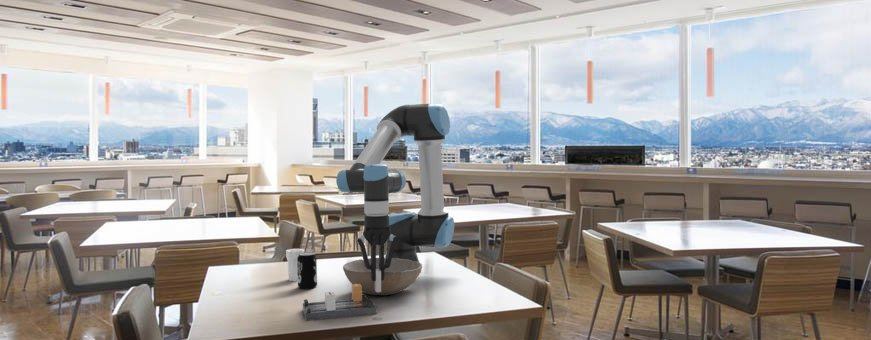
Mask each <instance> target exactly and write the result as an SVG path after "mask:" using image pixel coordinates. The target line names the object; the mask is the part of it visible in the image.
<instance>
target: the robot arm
mask: <svg viewBox="0 0 871 340" xmlns="http://www.w3.org/2000/svg"><path fill="white" fill-rule="evenodd" d="M450 128H451V122H450V116H449V113H448V110H447V109H446V107H445V106H444V105H443V104H441V103H420V104H404V105H400V106H398V107H396V108H394V109H392V110H391V111H390V112H388V113H386V114H385V116H383V117H382V118H381V120H380V121H379V122H378V124H377V125H376V131H375V133H374V134H373V135H372V137H371V139H370V140H369V142H368V143H367V144H366V145H365V147H364V148H363V150H362V151H361V153H360V154H359V155H358V157H357V158H356V160H355V161H354V162H353V164H352V166H351V167H350V169H348V168H347V169H342V170H340V171H339V172H338V173H337V175H336V178H335V179H336V180H335V183H336V186H337V189H338V190H339V191H340V192H342V193H350V194H352V193H353V194H359V193H360V194H361V193H362V194H363V195H364V197H363V198H364V199H363V200H364V201H363V204H364V207H363V208H364V209H363V210H364V211H363V213H364V214H365V216H364V217H363V218H364V230H363V232H362V235H360V236H359V237H356V239H355V241H356V242H357V244H358V245H359V248H360V252H361V256H362V260H363V261H364V264H365V267H366V268H367V269H370V270H371V279H372V281H375V291H376V292H381V280H384V270H385V269H386V268H389V267H390V264H391V260H392V258H399V259H405V260H412V261H417V262H419V263H420V260H419V257H418V254H417V247H422V248H423V247H424V248H425V247H426V248H436V249H437V248H447V247H448V246H449V245H450V244H451V242H452V240H453V237H454V233H455V221H454V218H453V217H452V216H449V210H448V209H446V207H445V201H444V199H445V198H444V197H445V196H444V177H443V156H442V144H443V142H444V141H445V140H446V137H445V136H447V135H448V134H449V133H450ZM408 136H409V137H410V136H411V137H412V136H413V142H415V144H416V145H417V146H418V148H417V149H418V164H419V165H418V166H419V185H420V186H419V187H420V203H421V205H420V207H421V208H420V209H419V210H418V211H417V213H416V212H415V211H408V212H399V213H394V214H389V213H390V205H389V203H390V201H389V199H390V197H389V194H396V193H398V192H401V191H403V189H404V188H405V186H406V184H407V178H406V175H405V174H404V172H403V171H402V170H400V169H395V168H390V169H389V166H388V165H387V164H386V163H384V164H381V163H382V161H383V160H384V158H385V157H386V155H387V154H388V153H389V151H390V149H391V148H392V146H393V145H394V143H397V142H398V141H399V140H400V139H401V138H402V137H408ZM388 214H389V215H388ZM365 242H367V243H368V244H369V249H370V258H371V265H370V264H369V260H368V259H369V256H368V253H367V252H368V251H367V250H366V249H367V248H366V245H365ZM377 247H378V258H379V269H376V258H377ZM385 251H386V252H385ZM384 258H386V260H385V264H384Z"/></svg>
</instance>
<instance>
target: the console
mask: <svg viewBox="0 0 871 340" xmlns="http://www.w3.org/2000/svg"><path fill="white" fill-rule="evenodd" d="M335 303H336V310H333V311H327V310H326V308H325V300H323V301H316V302H315V301H313V302H309V300H308V299H303V303H302V311H303V315H304V318H305V321H317V320H329V319H339V318H348V317H349V318H350V317H359V316H370V315H371V316H372V315H377V314H378V313H377V306H376V305H375V303H374V302H373V301H372V300H371V298H370V297H367V295H366V294H362V301H353V300H352V298H350V299H349V298H348V299H335Z"/></svg>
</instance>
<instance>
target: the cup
mask: <svg viewBox="0 0 871 340" xmlns="http://www.w3.org/2000/svg"><path fill="white" fill-rule="evenodd" d="M303 252H305V249H304V248H290V249H285V256H286V259H287V269H288V272H287V273H288V280H289V282H298V268H297V258H298V256H299V255H298V254H299V253H303Z"/></svg>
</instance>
